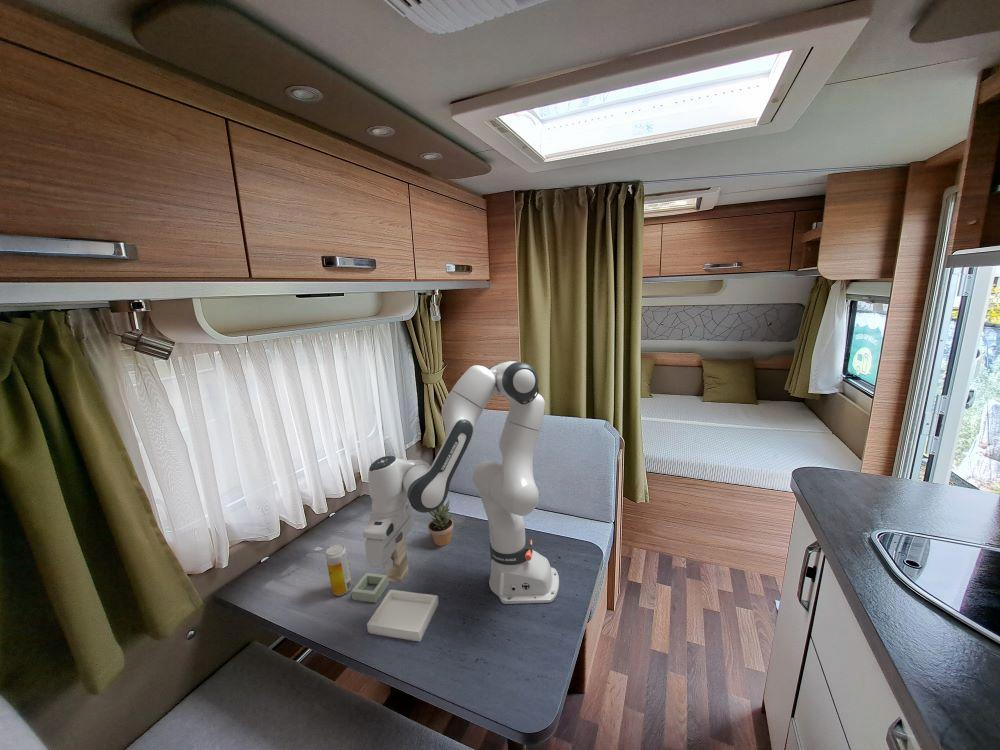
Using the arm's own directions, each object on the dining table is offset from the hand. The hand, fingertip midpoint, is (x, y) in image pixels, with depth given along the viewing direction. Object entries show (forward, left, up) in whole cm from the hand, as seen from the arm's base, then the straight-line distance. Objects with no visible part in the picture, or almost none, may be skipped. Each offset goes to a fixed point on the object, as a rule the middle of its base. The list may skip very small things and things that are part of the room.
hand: (396, 558), depth 107 cm
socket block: (+16, -8, -20) cm, 27 cm away
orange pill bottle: (+26, -7, -20) cm, 34 cm away
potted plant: (+2, -35, -20) cm, 41 cm away
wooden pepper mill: (0, 0, -6) cm, 6 cm away
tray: (0, 0, -20) cm, 20 cm away
